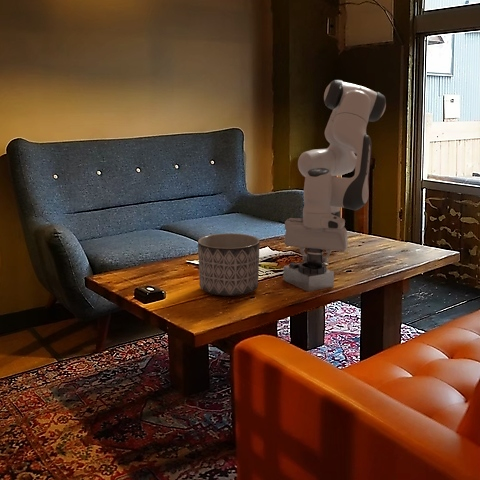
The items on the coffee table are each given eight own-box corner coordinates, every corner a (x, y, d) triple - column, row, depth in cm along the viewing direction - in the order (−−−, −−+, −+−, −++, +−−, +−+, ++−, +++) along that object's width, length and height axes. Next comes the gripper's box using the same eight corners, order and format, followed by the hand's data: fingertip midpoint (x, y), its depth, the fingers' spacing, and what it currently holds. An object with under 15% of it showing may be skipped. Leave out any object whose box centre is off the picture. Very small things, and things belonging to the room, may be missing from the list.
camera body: (283, 280, 208) (283, 260, 206) (307, 275, 213) (307, 256, 211) (308, 291, 196) (309, 271, 195) (333, 286, 201) (334, 266, 200)
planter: (211, 304, 185) (211, 251, 181) (190, 285, 202) (189, 236, 198) (269, 295, 193) (270, 244, 189) (244, 278, 210) (244, 231, 206)
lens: (304, 269, 200) (305, 248, 198) (309, 265, 205) (309, 244, 203) (320, 271, 198) (320, 249, 196) (324, 267, 203) (325, 245, 201)
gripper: (282, 219, 198) (281, 260, 201) (346, 224, 192) (344, 267, 195) (287, 215, 204) (286, 255, 207) (349, 220, 197) (347, 262, 201)
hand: (315, 261), depth 201 cm, fingers open, 5 cm apart
